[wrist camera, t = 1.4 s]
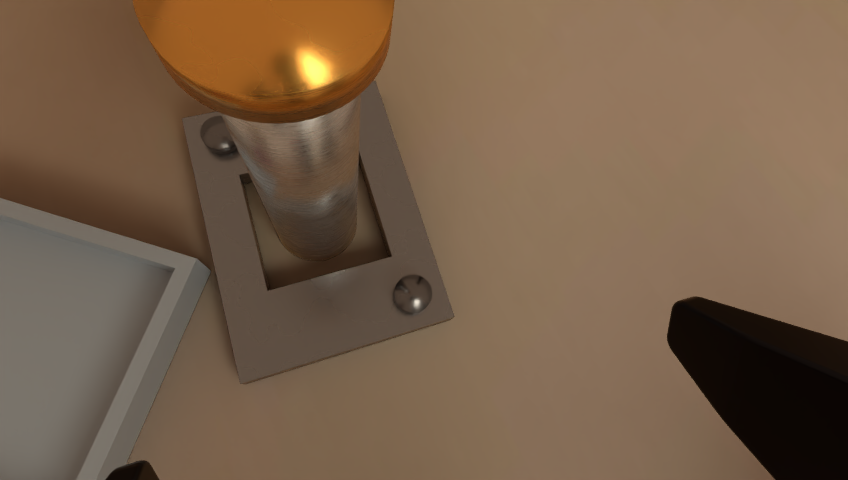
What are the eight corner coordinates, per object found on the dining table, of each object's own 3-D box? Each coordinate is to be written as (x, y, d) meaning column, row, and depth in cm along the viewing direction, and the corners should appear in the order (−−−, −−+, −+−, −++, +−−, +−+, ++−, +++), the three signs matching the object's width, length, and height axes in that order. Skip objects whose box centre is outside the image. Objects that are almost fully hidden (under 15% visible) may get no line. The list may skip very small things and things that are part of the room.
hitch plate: (450, 320, 22) (457, 314, 21) (245, 384, 20) (236, 383, 19) (374, 92, 25) (375, 73, 24) (188, 129, 23) (177, 111, 22)
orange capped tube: (350, 287, 22) (349, 129, 9) (245, 255, 22) (81, 42, 8) (382, 193, 24) (423, -64, 10) (285, 161, 23) (197, -143, 10)
